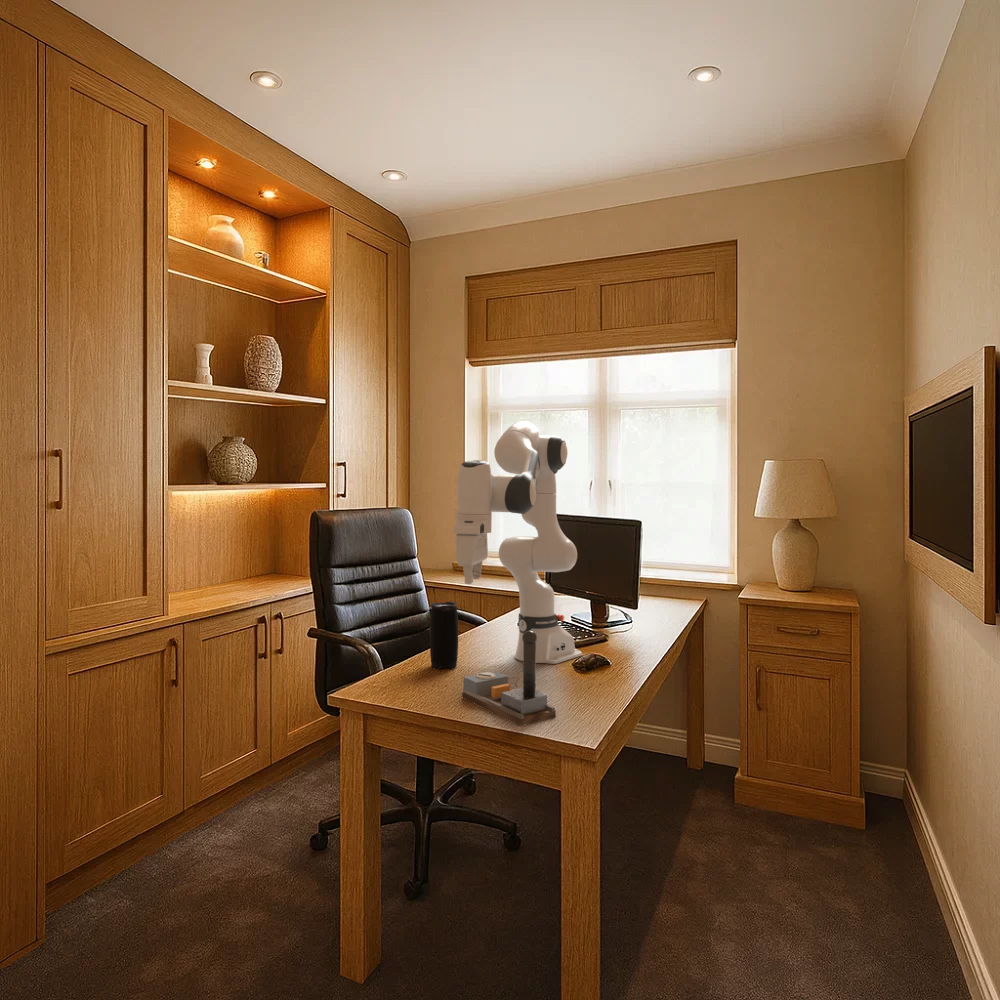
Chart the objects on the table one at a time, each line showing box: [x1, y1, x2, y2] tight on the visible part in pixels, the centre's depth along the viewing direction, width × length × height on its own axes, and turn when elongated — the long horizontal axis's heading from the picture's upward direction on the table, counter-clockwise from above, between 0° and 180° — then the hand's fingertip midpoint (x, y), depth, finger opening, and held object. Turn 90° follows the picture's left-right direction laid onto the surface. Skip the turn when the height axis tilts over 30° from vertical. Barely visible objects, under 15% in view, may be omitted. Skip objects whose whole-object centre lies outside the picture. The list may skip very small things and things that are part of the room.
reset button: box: [491, 683, 512, 698], centre depth 178 cm, size 5×2×2 cm, turn 126°
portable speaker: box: [429, 601, 459, 670], centre depth 212 cm, size 9×9×20 cm
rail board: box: [461, 688, 557, 727], centre depth 176 cm, size 11×25×2 cm, turn 36°
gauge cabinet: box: [463, 670, 509, 696], centre depth 184 cm, size 10×6×5 cm, turn 126°
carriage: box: [501, 631, 548, 715], centre depth 170 cm, size 8×8×20 cm
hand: (472, 581), depth 173 cm, fingers open, 8 cm apart
